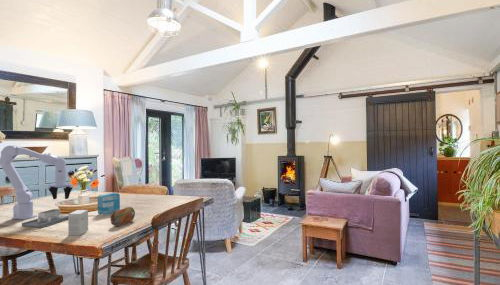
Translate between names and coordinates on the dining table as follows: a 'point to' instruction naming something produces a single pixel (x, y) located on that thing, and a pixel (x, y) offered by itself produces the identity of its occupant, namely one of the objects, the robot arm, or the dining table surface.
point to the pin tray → (38, 224)
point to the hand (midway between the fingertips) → (60, 198)
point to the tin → (122, 216)
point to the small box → (77, 222)
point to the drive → (48, 215)
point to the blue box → (108, 203)
